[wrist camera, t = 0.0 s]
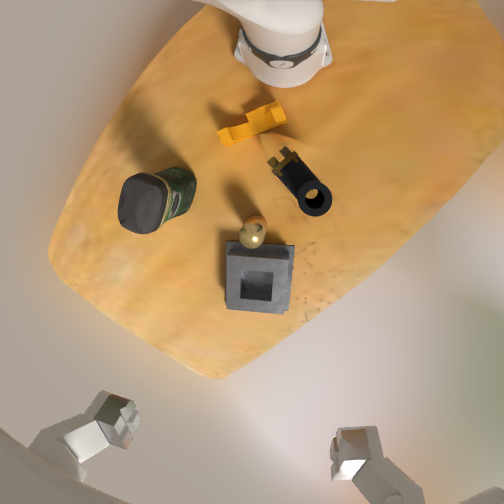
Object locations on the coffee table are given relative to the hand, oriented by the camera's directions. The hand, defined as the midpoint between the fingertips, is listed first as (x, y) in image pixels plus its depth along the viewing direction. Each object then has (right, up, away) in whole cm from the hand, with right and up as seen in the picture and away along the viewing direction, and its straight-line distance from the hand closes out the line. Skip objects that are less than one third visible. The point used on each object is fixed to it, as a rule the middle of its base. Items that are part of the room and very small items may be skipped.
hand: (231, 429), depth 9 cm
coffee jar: (-15, +20, +48) cm, 53 cm away
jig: (+2, +2, +51) cm, 51 cm away
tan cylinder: (+2, +12, +48) cm, 49 cm away
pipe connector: (+10, +21, +44) cm, 50 cm away
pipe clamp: (+1, +31, +42) cm, 52 cm away
